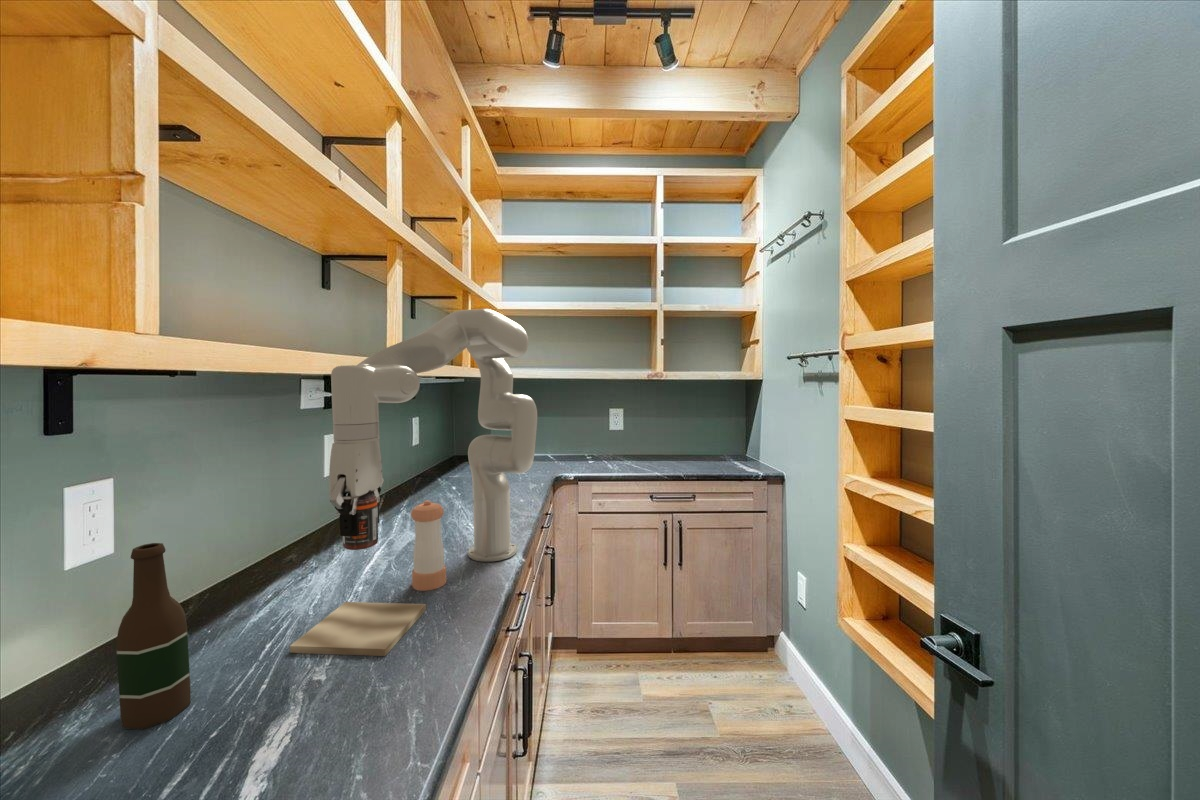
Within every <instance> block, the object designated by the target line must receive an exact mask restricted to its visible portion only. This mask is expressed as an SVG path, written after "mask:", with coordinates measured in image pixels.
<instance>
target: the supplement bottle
mask: <svg viewBox="0 0 1200 800" xmlns="http://www.w3.org/2000/svg"><path fill="white" fill-rule="evenodd" d="M350 495H351V493H347V494H346V496H350ZM346 502H347V503H348V504H349V505H351V500H346ZM356 513H358V516H359V535H358V536H342V546H343V548H344V549H346V550H351V551H359V550H365V549H369V548H372V547H373V546H376V545H377V544H378V541H379V523H378V508H377V497H376V496H375V495H373V494H372V493H371V490H369V491H368V493H366V494H364V495H363V496H360V497H358V502H357V508H356Z"/></svg>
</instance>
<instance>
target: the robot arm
mask: <svg viewBox="0 0 1200 800" xmlns="http://www.w3.org/2000/svg"><path fill="white" fill-rule="evenodd" d="M528 348H529V337H528V334H527V332H526V330H525V329H524V327H522V326H521V324H519V323H517V322H516V321H514V320H512V319H510V318H509V317H507V316H505V315H503V314H502V313H500V312H497V311H496V310H493V309H489V308H475V309H461V310H455V311H452V312H451V313H449V314H446V316H444V317H443V318H441V319H440V320H438V321H437V322H435V323H434V324H432V325H431V326H430V327H429V328H426V329H425V330H424V331H422V332H421V333H419V334H416V335H415V336H412V337H409V338H406V339H403V340H402V341H400V342H398V343H395V344H392V345H389V346H387V347H385V348H383V349H380V350H379V351H377V352H374V353H373V354H371V355H369V356H368V357H367V358H364V359H363V360H362V361H361V362H359V363H358V364H355V365H354V364H351V365H350V364H348V365H338V366H335V367H334V368H332V370H331V373H330V379H331V380H330V381H331V384H330V385H331V405H332V408H331V409H332V430H333V431H332V432H333V433H332V434H333V443H331V451H330V456H329V457H330V458H329V475H328V478H329V480H328V481H329V482H328V484H329V486H328V489H329V497H330V498H329V503H331V505H333V507H334V509H335V510H336V514H337V516H338V515H339V534H340V536H341V537H343V536H358V535H359V516H358V513H356V508H357V502H358V497H360V496H363V495H364V494H366V493H368V491H369V490H371V493H372V494H373V495H375V496H376V497H377V508H378V524H380V511H379V509H380V508H379V507H380V505H379V504H380V499H381V498H380V494H381V491H382V488H383V487H382V486H383V484H384V481H385V480H384V477H383V463H382V462H383V461H382V453H381V447H380V446H381V445H380V439H381V437H380V418H379V417H380V416H379V413H380V412H379V403H384V404H399V403H400V404H401V403H406V402H408V401H410V400H412V399H413V398H414V397H415V396H416V395H417V394H418V392H419V390H420V386H421V385H420V383H421V382H420V378H419V376H418V374H422V373H427V372H430V371H434V370H437V369H440V368H443V367H445V366H446V365H447V364H449V363H450V362H451V361H453V360H454V359H455V358H456V357H457V356H459V354H461V353H462V352H463V351H464V350H467V351H468V353H469V354H470V356H471V357H472V359H473V361H474V362H475V364H476V365H477V367H478V370H479V373H480V388H479V398H478V406H477V407H478V408H477V409H478V410H477V420H478V423H479V425H480V426H481V427H482V428H484V429H487V430H495V431H511V435H504V434H503V435H502V434H482V435H478V436H477V437H475V438H474V439H472V440H471V442H470V443H469V446H468V449H467V457H468V463H469V467H470V472H471V479H472V507H473V508H472V509H473V511H472V513H473V543H474V544H473V546H471V547H470V548H469V549H468V551H467V554H468V557H469V558H470V559H471V560H473V561H475V562H476V561H477V562H483V563H484V562H486V563H490V562H498V561H504V560H506V559H509V558H511V557H513V556H515V554H516V553H518V552H517V550H518V549H517V545H516V544H514V543H513V542H511V541H512V539H511V537H512V536H511V490H510V484H509V481H508V477H507V476H506V474H524V473H526V472H528V471H529V470H530V469H531V467H532V466H533V464H534V459H535V451H536V442H537V439H536V438H537V428H538V408H537V405H536V403H535V400H534V399H533V398H532V397H530V396H529V395H527V394H522V393H521V394H520V393H515V394H514V393H513V391H514V390H513V389H514V375H513V372H512V370H511V368H510V366H509V364H508V363H507V362H506V359H518V358H520V357H522V356H524V355H525V354H526V352H527V350H528ZM505 473H506V474H505ZM348 493H351V495H350V496H347V495H348ZM346 500H351V505H349V504H348V503H347V502H346Z"/></svg>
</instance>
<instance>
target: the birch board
mask: <svg viewBox="0 0 1200 800" xmlns="http://www.w3.org/2000/svg"><path fill="white" fill-rule="evenodd" d="M426 610H427V604H426V603H403V602H402V603H400V602H399V603H397V602H393V603H392V602H364V601H363V602H362V601H361V602H359V601H358V602H357V601H345V602H344V603H342V604H341V605H340V606H339V607H337V608H336V609H334V610H333V611H332V612H331V613H329V614H328V615H327V616H326V617H324V618H323V619H322V620H320V622H318V623H316V624H315V625H314V626H313V627H312V628H310V629H309V630H308V631H307V632H305V633H304V634H303V635H302V636H301V637H299V638H297V639H296V640H295V641H294V642H293V643H291V644H290V645H289V653H291V654H311V655H313V654H314V655H315V654H317V655H345V656H348V655H349V656H368V657H369V656H374V657H375V656H376V657H386V656H387V654H389V653H390V651H391V650H393V648H394V647H395V646H396V645H397V644H398V642H399V641H400V640H401V639H402V638H403V637H404V636H405V635H406V634H407V632H408V631H409V630H410V629H411V627H413V626H414V624H415V623H417V621H418V620H419V619H420V617H421V616H422V615H424V613H426Z"/></svg>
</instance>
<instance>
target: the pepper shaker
mask: <svg viewBox="0 0 1200 800" xmlns="http://www.w3.org/2000/svg"><path fill="white" fill-rule="evenodd" d="M444 513H445V511H444V508H443V506H442V505H441V504H440V503H436V502H431V500H428V499H427V500H424V501H423V503H420V504H418V505H416V506H414V507H413V508H412V509H411V513H410V516H411V519H412V520H413V521H414V533H415V535H414V546H413V551H412V552H413V554H412V559H413V560H412V561H413V562H412V563H413V569H412V571H411V576H412V577H411V580H412V581H411V582H412V583H411V584H412V588H413V589H414V590H415V591H422V592H423V591H424V592H425V591H426V592H427V591H432V590H436V589H439V588H441V587H443V586H444V585H445V584H446V583H447V566H446V565H445V549H444V544H443V540H442V539H443V538H442V528H441V527H442V525H441V518H442V517H443V516H444Z"/></svg>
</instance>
